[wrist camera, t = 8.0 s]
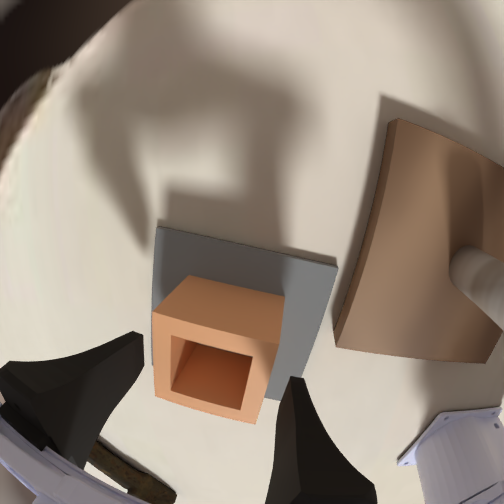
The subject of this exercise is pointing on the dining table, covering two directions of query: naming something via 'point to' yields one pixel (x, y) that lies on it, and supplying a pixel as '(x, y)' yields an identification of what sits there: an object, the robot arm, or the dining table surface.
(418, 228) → the post block
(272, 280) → the pad
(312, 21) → the dining table surface
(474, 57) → the dining table surface
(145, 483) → the hand tool
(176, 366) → the hollow square tube
